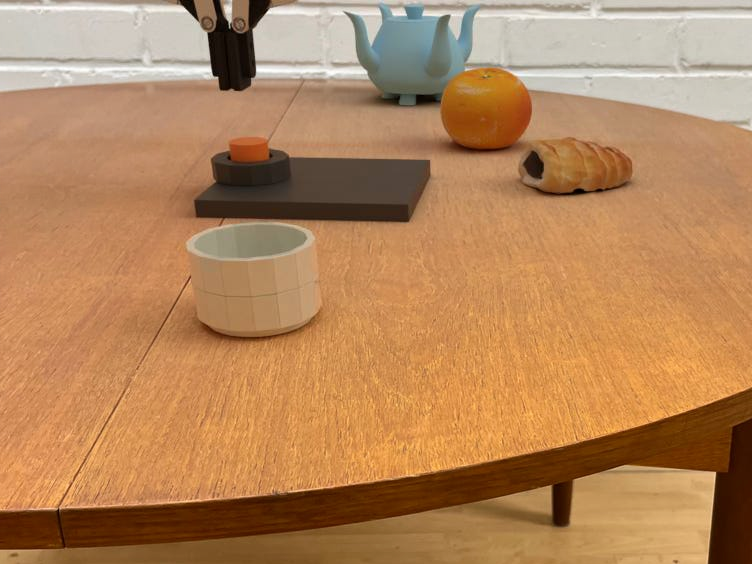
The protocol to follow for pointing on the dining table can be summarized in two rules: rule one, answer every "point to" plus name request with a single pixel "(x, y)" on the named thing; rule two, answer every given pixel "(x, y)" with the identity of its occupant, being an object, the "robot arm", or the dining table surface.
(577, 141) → the pastry
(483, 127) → the fruit
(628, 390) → the dining table surface
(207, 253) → the bowl
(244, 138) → the button
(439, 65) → the teapot
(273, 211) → the scale
